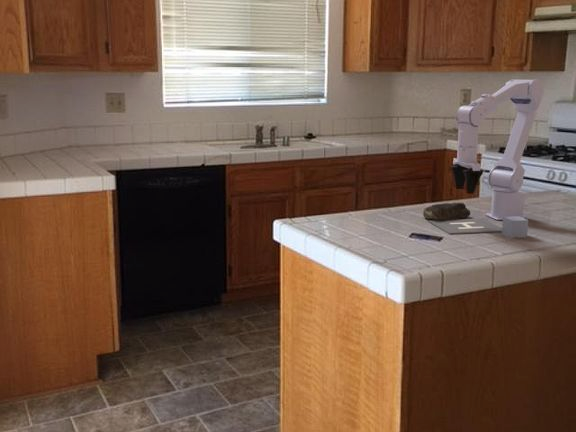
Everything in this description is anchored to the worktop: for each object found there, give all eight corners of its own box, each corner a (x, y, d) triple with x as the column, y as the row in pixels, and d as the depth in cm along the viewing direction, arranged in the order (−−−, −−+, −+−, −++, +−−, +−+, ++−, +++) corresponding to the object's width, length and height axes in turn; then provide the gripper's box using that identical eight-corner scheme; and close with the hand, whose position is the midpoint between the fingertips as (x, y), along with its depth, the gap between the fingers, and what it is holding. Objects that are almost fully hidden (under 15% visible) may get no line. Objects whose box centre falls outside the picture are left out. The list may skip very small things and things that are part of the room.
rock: (420, 218, 204) (420, 205, 204) (455, 213, 213) (455, 200, 212) (437, 221, 198) (438, 208, 197) (473, 216, 206) (473, 203, 205)
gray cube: (517, 233, 187) (519, 216, 185) (526, 237, 182) (528, 220, 181) (501, 233, 186) (503, 217, 185) (510, 238, 181) (512, 220, 180)
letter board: (482, 219, 203) (482, 218, 203) (507, 231, 188) (507, 230, 187) (428, 221, 200) (428, 220, 200) (449, 234, 185) (449, 232, 184)
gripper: (445, 144, 198) (442, 187, 201) (465, 149, 184) (462, 195, 187) (466, 143, 199) (463, 186, 202) (488, 148, 185) (485, 195, 188)
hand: (464, 191), depth 194 cm, fingers open, 7 cm apart
